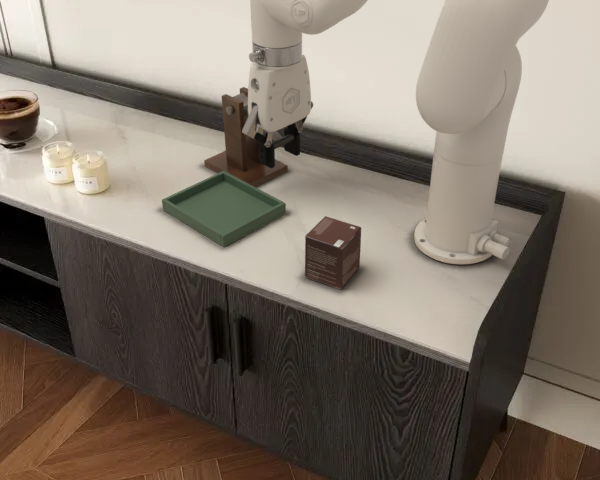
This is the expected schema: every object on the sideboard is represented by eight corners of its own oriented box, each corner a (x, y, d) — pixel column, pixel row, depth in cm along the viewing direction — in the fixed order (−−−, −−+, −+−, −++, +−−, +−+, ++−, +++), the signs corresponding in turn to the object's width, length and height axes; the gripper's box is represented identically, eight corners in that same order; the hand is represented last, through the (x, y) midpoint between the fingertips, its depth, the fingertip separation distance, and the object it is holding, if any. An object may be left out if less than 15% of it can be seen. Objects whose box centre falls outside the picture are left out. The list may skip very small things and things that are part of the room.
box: (324, 256, 114) (325, 214, 109) (360, 268, 111) (362, 226, 107) (304, 278, 110) (303, 235, 105) (340, 290, 107) (342, 248, 103)
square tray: (285, 213, 123) (285, 202, 122) (224, 247, 116) (223, 236, 115) (224, 180, 132) (223, 170, 130) (163, 210, 124) (161, 199, 123)
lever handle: (293, 144, 126) (296, 133, 124) (271, 154, 124) (274, 144, 122) (246, 101, 130) (249, 89, 128) (224, 110, 127) (226, 99, 125)
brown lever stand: (287, 171, 134) (286, 97, 125) (250, 190, 129) (245, 114, 120) (242, 149, 140) (237, 77, 132) (204, 166, 136) (197, 92, 127)
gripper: (252, 74, 108) (257, 185, 120) (333, 43, 118) (331, 149, 129) (218, 60, 112) (226, 169, 124) (299, 31, 122) (299, 134, 133)
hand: (279, 157), depth 126 cm, fingers closed on lever handle, 5 cm apart
